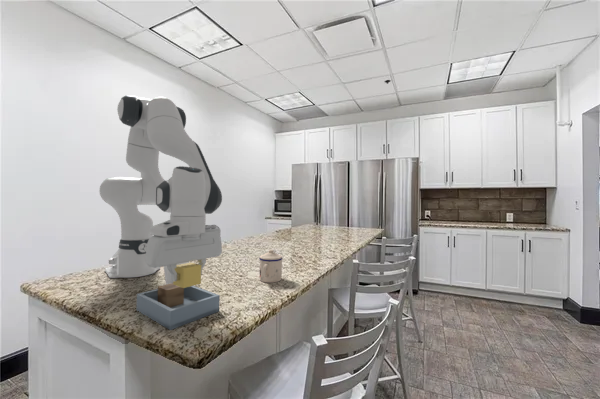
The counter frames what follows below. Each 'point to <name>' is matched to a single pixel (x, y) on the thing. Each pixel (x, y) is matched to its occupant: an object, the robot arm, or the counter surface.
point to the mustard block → (188, 275)
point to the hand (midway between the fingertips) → (187, 277)
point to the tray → (178, 307)
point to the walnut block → (170, 295)
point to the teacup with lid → (270, 267)
